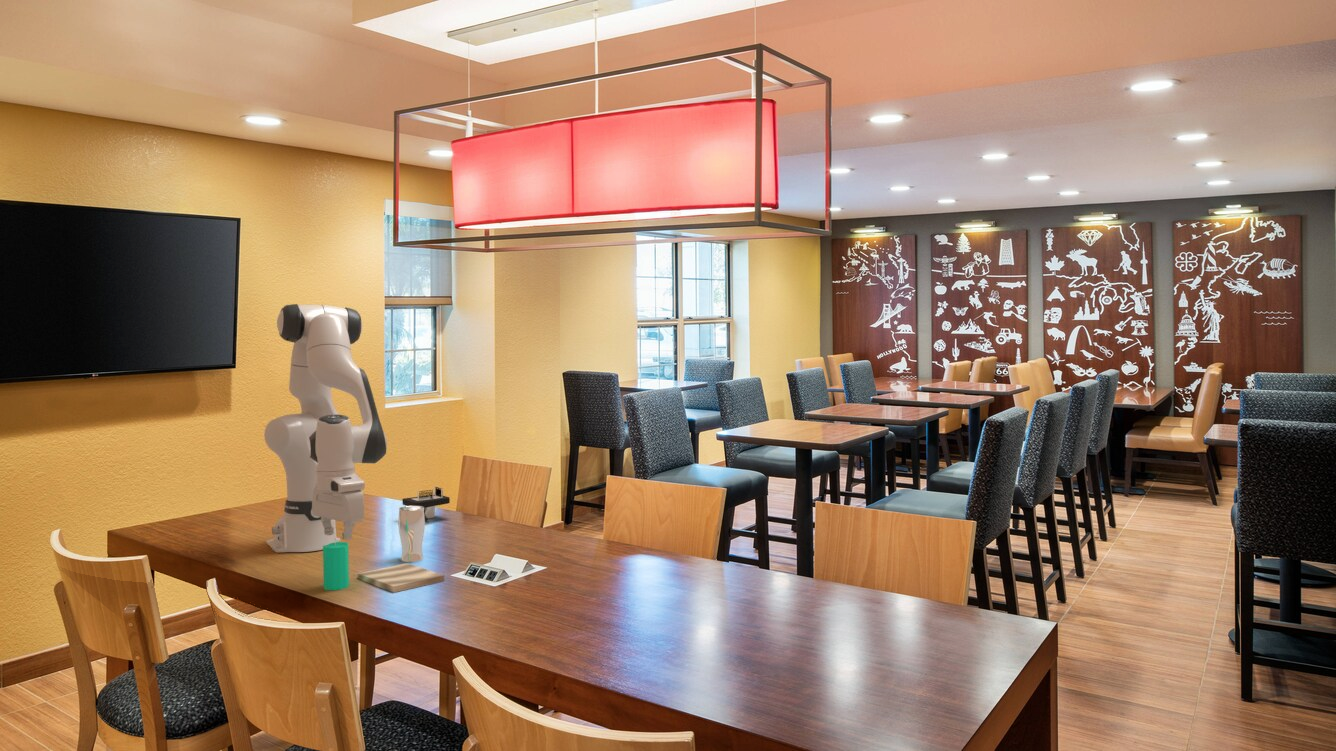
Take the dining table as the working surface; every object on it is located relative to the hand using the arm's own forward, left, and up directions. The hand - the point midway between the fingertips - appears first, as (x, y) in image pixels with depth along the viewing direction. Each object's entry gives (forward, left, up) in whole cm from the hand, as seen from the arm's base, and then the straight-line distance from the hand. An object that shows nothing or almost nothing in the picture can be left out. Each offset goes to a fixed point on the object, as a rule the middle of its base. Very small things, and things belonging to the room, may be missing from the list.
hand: (337, 537), depth 215 cm
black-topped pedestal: (-46, +53, -13) cm, 71 cm away
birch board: (+5, +14, -12) cm, 19 cm away
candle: (-1, 0, -13) cm, 13 cm away
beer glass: (-10, +26, -13) cm, 30 cm away
